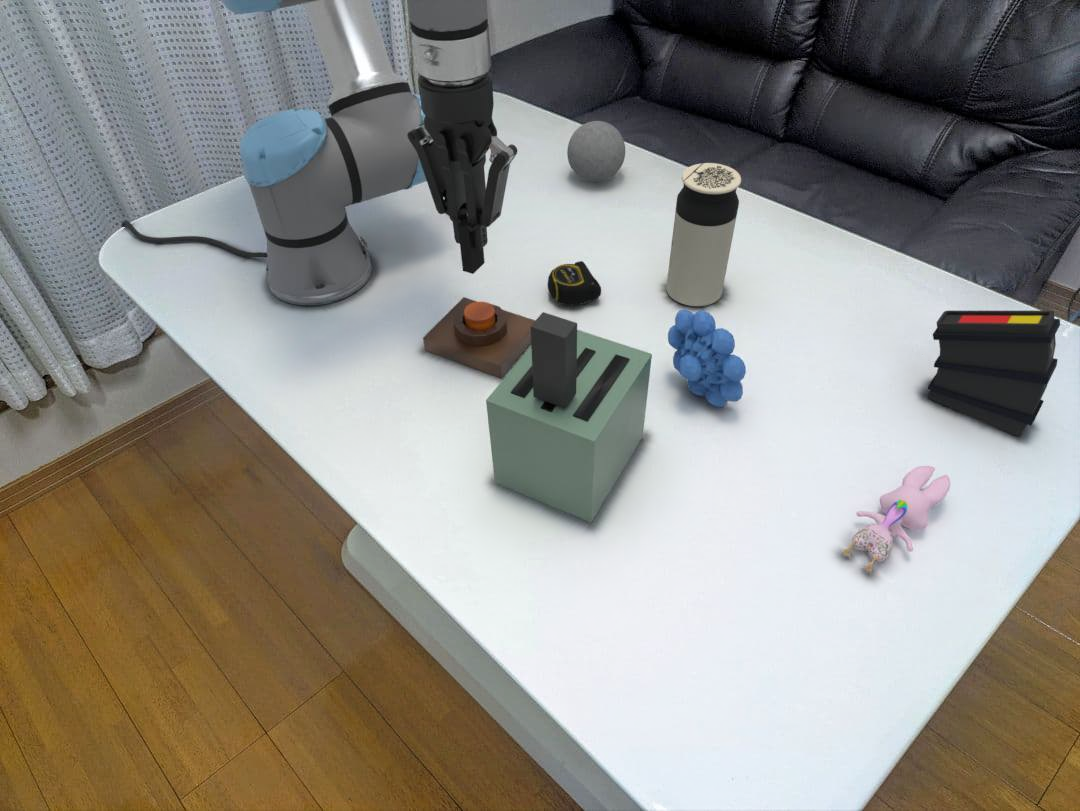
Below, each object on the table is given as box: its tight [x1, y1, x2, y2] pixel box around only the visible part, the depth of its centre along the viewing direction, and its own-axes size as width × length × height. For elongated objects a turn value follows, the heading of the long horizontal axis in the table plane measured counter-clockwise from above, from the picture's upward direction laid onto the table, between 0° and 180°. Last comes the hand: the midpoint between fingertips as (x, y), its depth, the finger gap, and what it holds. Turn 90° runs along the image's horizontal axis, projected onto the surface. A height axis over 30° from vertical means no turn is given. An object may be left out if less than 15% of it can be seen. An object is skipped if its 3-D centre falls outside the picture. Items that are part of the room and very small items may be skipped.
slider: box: [530, 311, 578, 408], centre depth 69 cm, size 4×2×9 cm, turn 61°
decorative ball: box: [566, 120, 626, 183], centre depth 126 cm, size 10×10×10 cm
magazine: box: [926, 310, 1061, 437], centre depth 84 cm, size 4×13×15 cm, turn 50°
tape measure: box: [547, 260, 602, 306], centre depth 105 cm, size 7×7×4 cm
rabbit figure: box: [841, 465, 951, 575], centre depth 75 cm, size 6×6×15 cm
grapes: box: [667, 309, 747, 408], centre depth 87 cm, size 12×7×12 cm, turn 39°
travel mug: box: [665, 162, 742, 307], centre depth 100 cm, size 8×8×18 cm
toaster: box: [485, 329, 653, 523], centre depth 80 cm, size 12×14×13 cm
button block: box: [422, 296, 536, 379], centre depth 98 cm, size 12×10×4 cm
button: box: [464, 301, 495, 330], centre depth 96 cm, size 4×4×2 cm
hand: (473, 266), depth 91 cm, fingers closed
